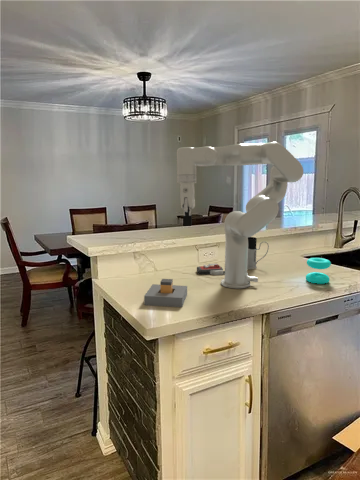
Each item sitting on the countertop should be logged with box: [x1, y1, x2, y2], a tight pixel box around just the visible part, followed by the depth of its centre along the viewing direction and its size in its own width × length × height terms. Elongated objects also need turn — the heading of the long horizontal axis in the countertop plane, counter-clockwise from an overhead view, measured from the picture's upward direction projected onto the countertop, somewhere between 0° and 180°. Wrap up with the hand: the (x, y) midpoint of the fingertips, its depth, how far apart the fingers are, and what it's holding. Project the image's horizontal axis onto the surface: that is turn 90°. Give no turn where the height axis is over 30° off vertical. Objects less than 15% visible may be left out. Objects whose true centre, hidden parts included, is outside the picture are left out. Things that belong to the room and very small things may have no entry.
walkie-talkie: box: [196, 263, 225, 276], centre depth 177 cm, size 9×4×20 cm
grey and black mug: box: [247, 236, 270, 270], centre depth 185 cm, size 9×14×15 cm, turn 70°
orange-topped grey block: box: [159, 278, 174, 293], centre depth 139 cm, size 4×4×7 cm
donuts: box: [305, 257, 332, 285], centre depth 162 cm, size 10×10×10 cm
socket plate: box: [143, 283, 188, 308], centre depth 140 cm, size 14×14×4 cm
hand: (187, 225), depth 148 cm, fingers closed
